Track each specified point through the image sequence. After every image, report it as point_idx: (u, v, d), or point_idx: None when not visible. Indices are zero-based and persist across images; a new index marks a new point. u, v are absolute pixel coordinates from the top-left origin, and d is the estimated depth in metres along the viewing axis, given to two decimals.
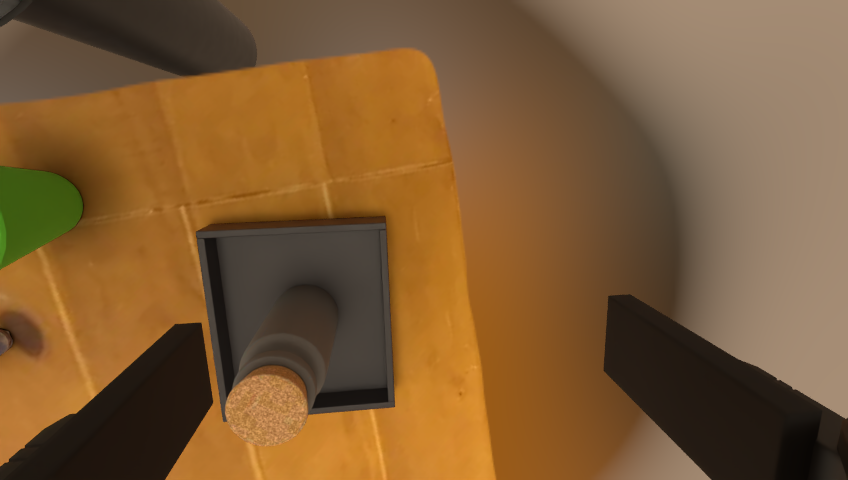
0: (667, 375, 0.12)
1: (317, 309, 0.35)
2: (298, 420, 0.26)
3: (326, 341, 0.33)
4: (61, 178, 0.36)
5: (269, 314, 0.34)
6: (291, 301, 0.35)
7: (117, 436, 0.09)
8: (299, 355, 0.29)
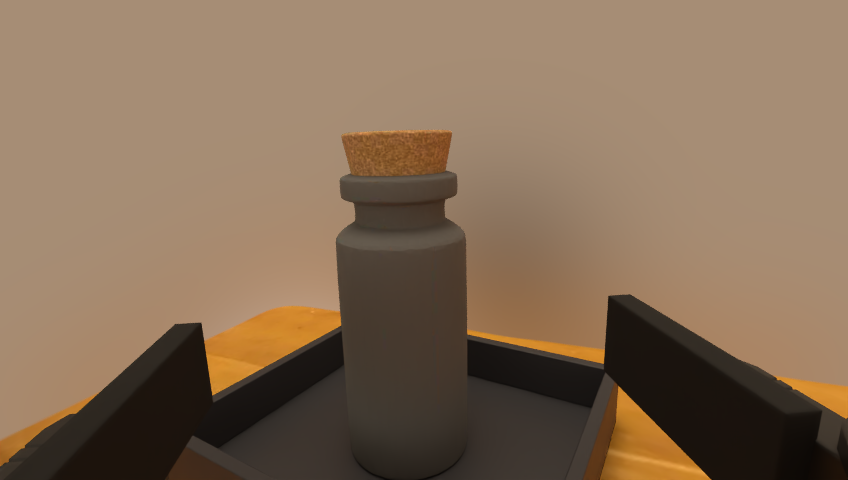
0: (667, 375, 0.12)
1: None
2: None
3: None
4: None
5: None
6: None
7: (117, 436, 0.09)
8: None
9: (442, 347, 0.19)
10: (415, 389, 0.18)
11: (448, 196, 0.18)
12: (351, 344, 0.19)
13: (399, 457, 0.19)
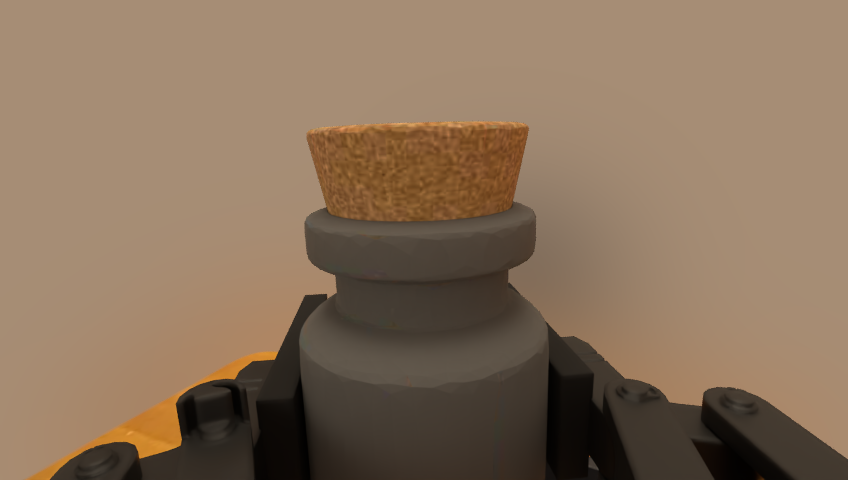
0: None
1: None
2: None
3: None
4: None
5: None
6: None
7: None
8: None
9: None
10: None
11: (525, 259, 0.09)
12: None
13: None
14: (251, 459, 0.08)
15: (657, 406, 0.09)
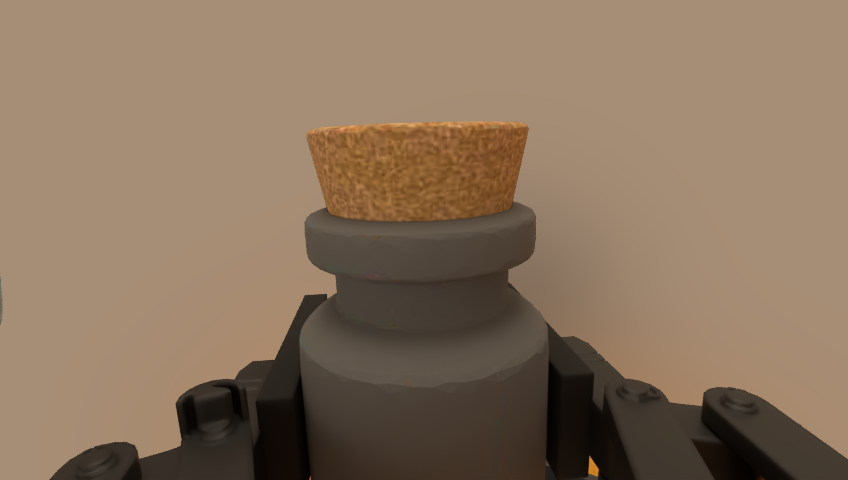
0: None
1: None
2: None
3: None
4: None
5: None
6: None
7: None
8: None
9: None
10: None
11: (525, 259, 0.09)
12: None
13: None
14: (251, 459, 0.08)
15: (657, 406, 0.09)
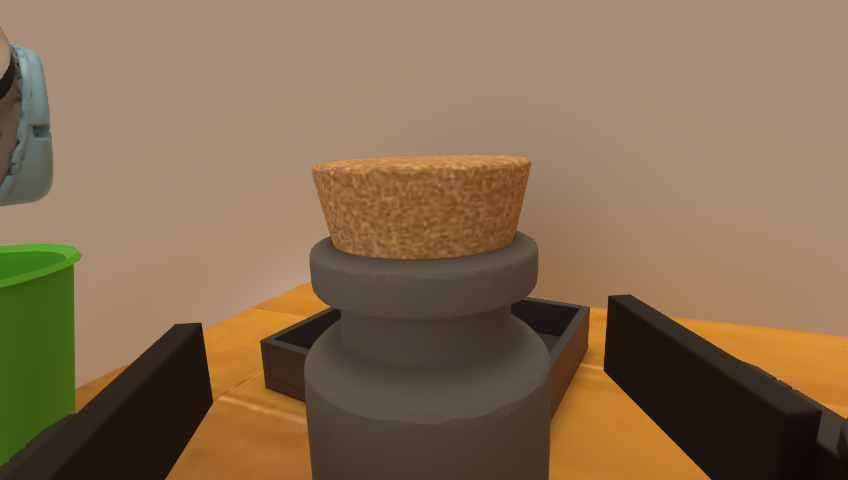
0: (667, 375, 0.12)
1: None
2: (484, 155, 0.11)
3: None
4: None
5: None
6: None
7: (117, 436, 0.09)
8: None
9: None
10: None
11: (528, 293, 0.09)
12: None
13: None
14: None
15: None
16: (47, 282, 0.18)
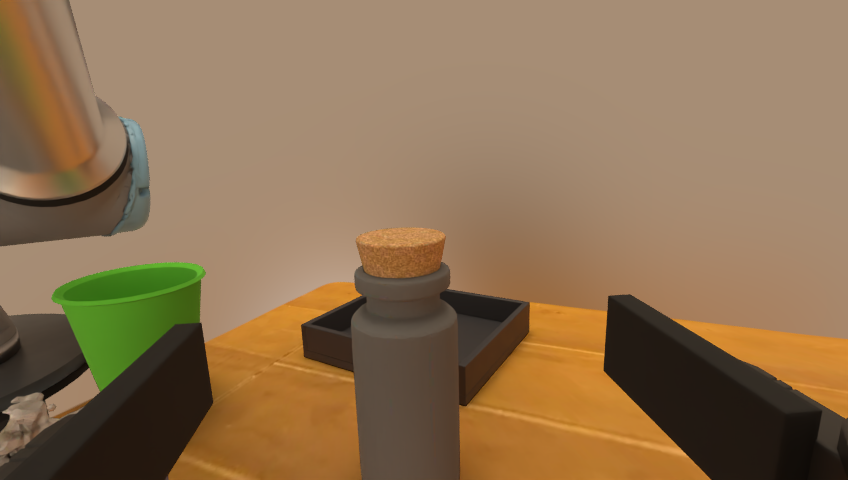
0: (667, 375, 0.12)
1: None
2: (429, 230, 0.24)
3: None
4: None
5: None
6: None
7: (117, 436, 0.09)
8: None
9: (437, 412, 0.23)
10: (415, 446, 0.23)
11: (442, 291, 0.22)
12: (364, 408, 0.23)
13: None
14: None
15: None
16: (194, 286, 0.31)
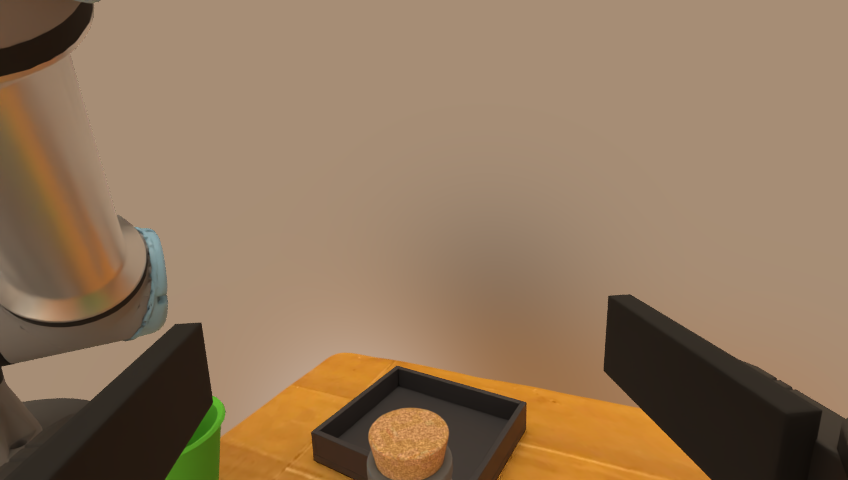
0: (667, 375, 0.12)
1: None
2: (434, 417, 0.27)
3: None
4: None
5: None
6: None
7: (117, 436, 0.09)
8: None
9: None
10: None
11: None
12: None
13: None
14: None
15: None
16: (216, 430, 0.34)
